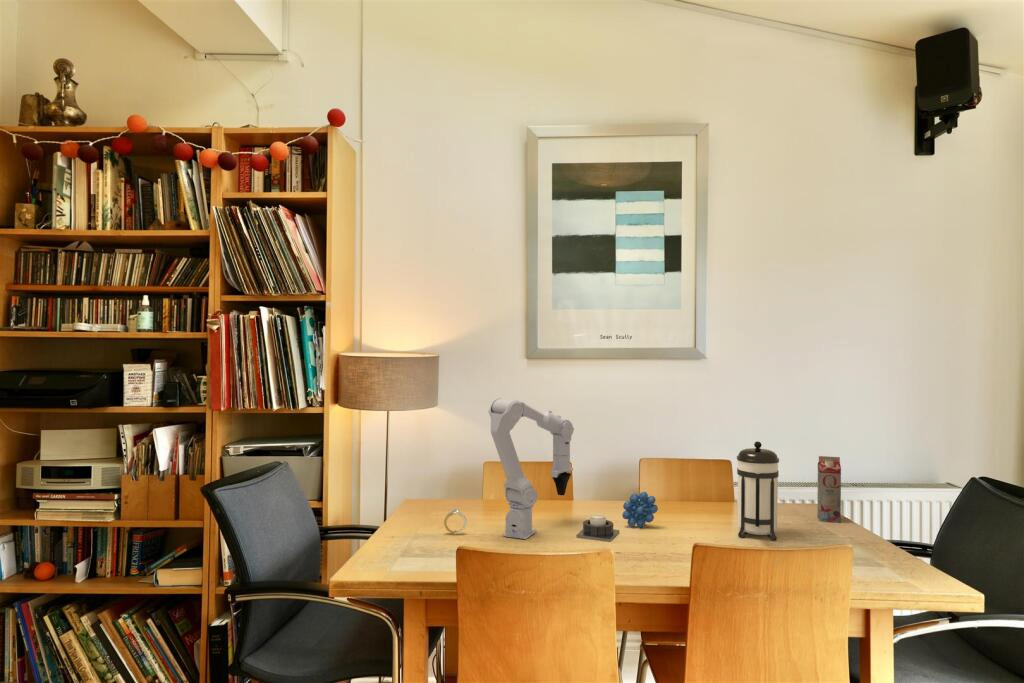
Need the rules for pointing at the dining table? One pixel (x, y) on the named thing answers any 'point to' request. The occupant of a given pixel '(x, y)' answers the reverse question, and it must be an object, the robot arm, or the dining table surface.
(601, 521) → the cap
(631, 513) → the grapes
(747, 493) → the coffee press
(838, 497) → the juice carton
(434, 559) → the dining table surface
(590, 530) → the flanged pipe fitting
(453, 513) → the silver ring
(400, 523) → the dining table surface
